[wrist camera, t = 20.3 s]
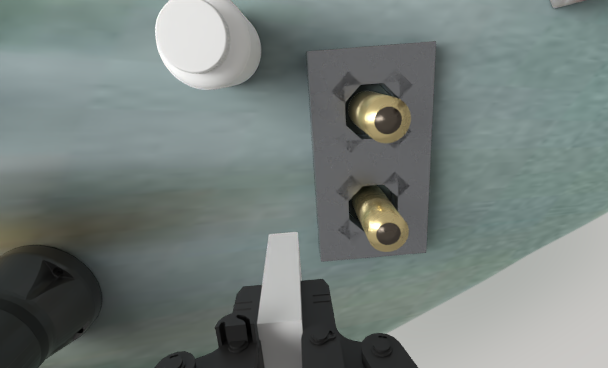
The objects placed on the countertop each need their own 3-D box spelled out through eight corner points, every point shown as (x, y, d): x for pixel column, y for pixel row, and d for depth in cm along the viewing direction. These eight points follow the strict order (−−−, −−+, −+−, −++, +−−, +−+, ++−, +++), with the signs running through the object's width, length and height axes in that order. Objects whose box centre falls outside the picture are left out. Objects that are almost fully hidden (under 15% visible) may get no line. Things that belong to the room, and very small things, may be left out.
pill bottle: (243, -2, 37) (214, -46, 23) (273, 69, 40) (263, 69, 26) (179, 28, 38) (112, 3, 24) (212, 96, 41) (170, 110, 26)
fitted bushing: (352, 215, 46) (368, 254, 37) (351, 185, 45) (367, 216, 35) (384, 213, 46) (408, 250, 37) (384, 182, 45) (409, 213, 35)
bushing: (348, 128, 42) (365, 145, 33) (347, 91, 41) (365, 98, 31) (383, 125, 42) (410, 141, 33) (383, 89, 41) (412, 95, 31)
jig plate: (319, 250, 48) (321, 261, 45) (305, 52, 39) (307, 51, 37) (418, 241, 48) (426, 252, 45) (425, 43, 40) (436, 41, 37)
